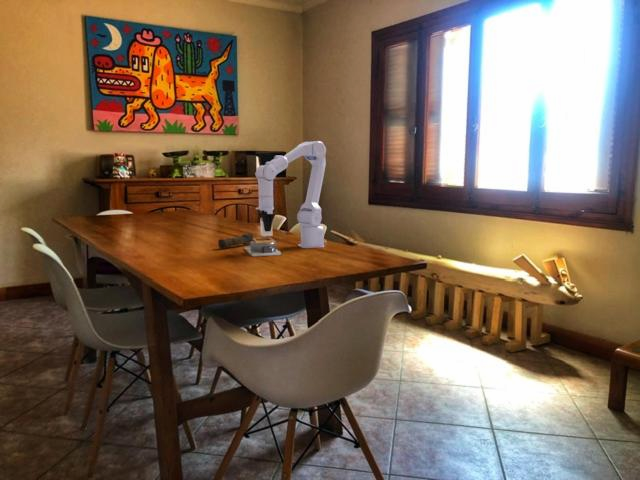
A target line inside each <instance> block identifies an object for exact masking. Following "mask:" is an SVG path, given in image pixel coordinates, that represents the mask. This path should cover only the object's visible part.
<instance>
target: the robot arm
mask: <svg viewBox="0 0 640 480" xmlns="http://www.w3.org/2000/svg"><path fill="white" fill-rule="evenodd" d="M326 153H327V147H326V146H325V144H324V142H323V141H321V140H317V141H316V140H314V141H304V142H302V143H300V144H298V145H297V146H295V148H293V149H292V150H290V151H289V152H288V153H286V154H284V156H283V155H274V158H273V159H271V160H270V161H266V162H265V164H264V165H263V164H262V165H259V166H258V167H257V169H256V171H255V172H254V175H255V177H256V179H257V183H258V186H257V187H258V206H257V207H255V210H259V211H260V212H257V215H258V217H259V219H260V218H262V219H263V223H264V229H265V231H271V227H272V224H273V221H274V219H275V216H276V213H274V212H273V210H274V209H275V207H274V179H276V177H277V175H278V174H279V173H281V172H283V171H285V170H286V169H287V168H288V166H289V164H290V163H292V162H293V161H295V160H296V159H299V158H300V157H301V156H303V158H305V159H306V160H307V161H308V162H309V163H310V164H311V171H310V175H309V181H308V185H307V192H306V197H305V202H304V203H302V205H300V210H299V211H298V212H297V216H296V219H297V221H298V223H299V226H300V244H297V245H298V247H300V248H302V249H311V248H313V249H314V248H325V230H324V226H323V225H320V224H321V222H322V219H323V218H322V211H323V210H322V208H321V206H320V205H319V201H320V196H321V192H322V187H323V181H324V176H325V171H326V166H327V165H326V164H327V162H326V161H327V160H326Z"/></svg>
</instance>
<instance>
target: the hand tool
mask: <svg viewBox="0 0 640 480" xmlns="http://www.w3.org/2000/svg"><path fill="white" fill-rule="evenodd" d="M253 238H255V237H254V234H253V233H251V232H250V233H243V234H242V235H241V236H236V237H231V238H230V237H229V238H223V239H222V238H219V239H218V240H217V241H218V247H219V249H225V248H226V249H227V248H229V247H234V246H238V245H243V246H244V245H245V246H247V245H248V246H249V245H250V242H251V241H253V240H252V239H253Z"/></svg>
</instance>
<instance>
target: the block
mask: <svg viewBox="0 0 640 480" xmlns="http://www.w3.org/2000/svg"><path fill="white" fill-rule="evenodd" d="M259 220H260V227H259V228H260V236H261V237H273V234H274V233H273V230H274V228H273V223H272V227H271V231H265V229H264V223H263V219H262V218H259Z"/></svg>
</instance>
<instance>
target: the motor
mask: <svg viewBox="0 0 640 480" xmlns="http://www.w3.org/2000/svg"><path fill="white" fill-rule="evenodd" d="M252 240H253V241H251V242H250V244H249V245H250V246H249V245H248V246H244V250H245V251H246V252H247V253H248V254H249V255H250V256H251V257H265V256H266V257H267V256H268V257H269V256H281V255H282V252H281V251H280V250H279V249H277V241H276V240H275V239H273V238H272V237H260V238H259V237H256V238H255V237H254V238H253V239H252Z"/></svg>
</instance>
